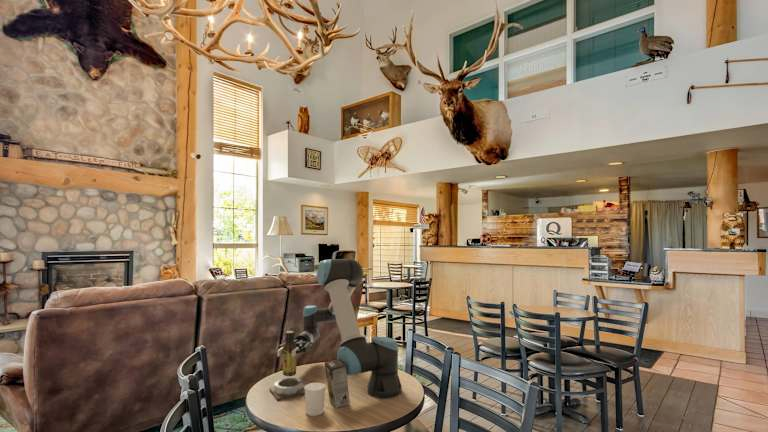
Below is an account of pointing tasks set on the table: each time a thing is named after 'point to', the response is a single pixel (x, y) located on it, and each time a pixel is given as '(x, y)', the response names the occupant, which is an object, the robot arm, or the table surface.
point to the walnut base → (282, 397)
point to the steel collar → (282, 388)
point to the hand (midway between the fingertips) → (285, 353)
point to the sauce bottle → (289, 355)
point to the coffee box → (337, 383)
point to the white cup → (314, 398)
